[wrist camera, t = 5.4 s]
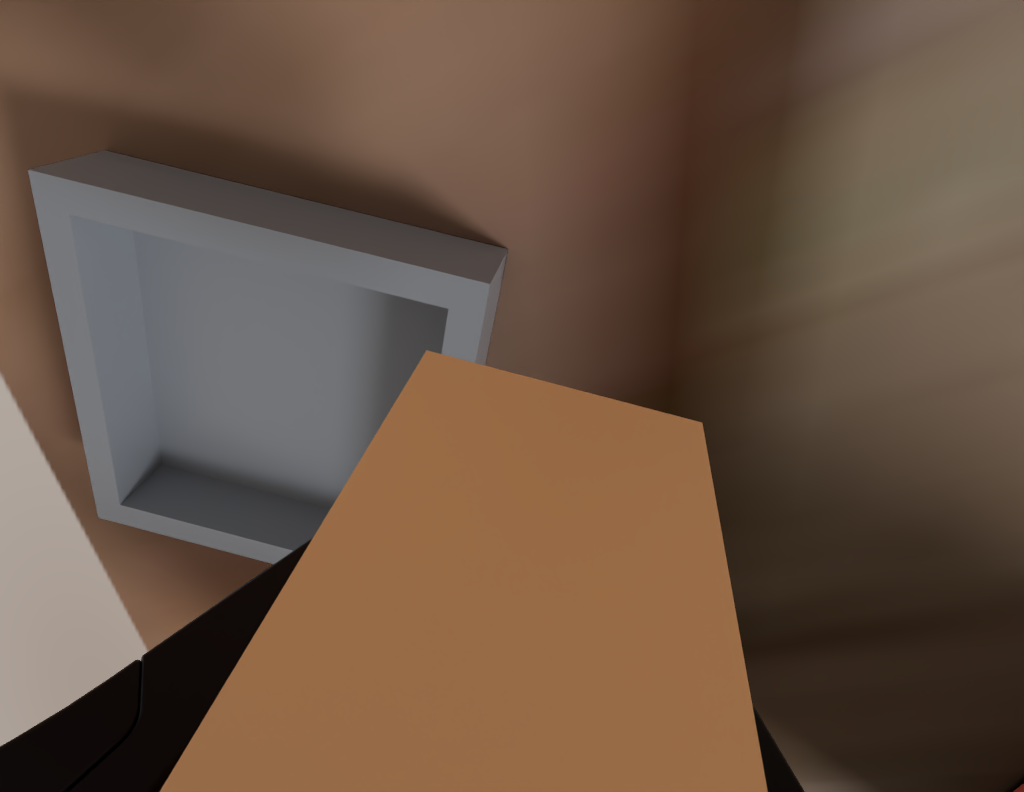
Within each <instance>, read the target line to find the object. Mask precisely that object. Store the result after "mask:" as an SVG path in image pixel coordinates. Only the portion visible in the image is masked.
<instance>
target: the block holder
mask: <svg viewBox="0 0 1024 792" xmlns="http://www.w3.org/2000/svg"><path fill="white" fill-rule="evenodd" d="M28 173H29V178H30V183H31V188H32V193H33V198H34V203H35V208H36V213H37V218H38V223H39V228H40V233H41V237H42V242H43V247H44V252H45V257H46V262H47V267H48V272H49V277H50V282H51V287H52V292H53V297H54V302H55V307H56V312H57V316H58V321H59V326H60V331H61V336H62V341H63V346H64V351H65V356H66V361H67V366H68V371H69V376H70V381H71V386H72V391H73V395H74V400H75V405H76V410H77V415H78V420H79V425H80V430H81V435H82V440H83V445H84V450H85V455H86V460H87V465H88V470H89V474H90V479H91V484H92V489H93V494H94V499H95V504H96V509H97V514H98V518H101V519H105V520H109V521H112V522H116V523H120V524H124V525H127V526H131V527H135V528H139V529H142V530H146V531H150V532H154V533H158V534H161V535H165V536H169V537H173V538H176V539H180V540H184V541H188V542H192V543H195V544H199V545H203V546H207V547H210V548H214V549H218V550H222V551H226V552H229V553H233V554H237V555H241V556H244V557H248V558H252V559H256V560H259V561H263V562H267V563H271V564H275V563H277V562H278V561H279V560H281V559H282V558H284V557H285V556H287V555H288V554H289V553H291V552H292V551H294V550H295V549H297V548H298V547H299V546H301V545H302V544H304V543H305V542H307V541H308V540H310V539H311V538H312V537H314V536H315V534H316V532H317V531H318V529H319V527H320V526H321V524H322V522H323V521H324V519H325V517H326V516H327V514H328V512H329V511H330V509H331V507H332V506H333V504H334V503H335V501H336V499H337V498H338V496H339V494H340V493H341V491H342V489H343V488H344V486H345V484H346V483H347V481H348V479H349V478H350V476H351V474H352V473H353V471H354V469H355V468H356V466H357V464H358V463H359V461H360V460H361V458H362V456H363V455H364V453H365V451H366V450H367V448H368V446H369V445H370V443H371V441H372V440H373V438H374V436H375V435H376V433H377V431H378V430H379V428H380V426H381V425H382V423H383V421H384V420H385V418H386V417H387V415H388V413H389V412H390V410H391V408H392V407H393V405H394V403H395V402H396V400H397V398H398V397H399V395H400V393H401V392H402V390H403V388H404V387H405V385H406V383H407V382H408V380H409V378H410V377H411V375H412V374H413V372H414V370H415V369H416V367H417V365H418V364H419V362H420V360H421V359H422V357H423V355H424V354H425V352H426V350H428V351H431V352H435V353H439V354H443V355H447V356H450V357H454V358H458V359H462V360H466V361H469V362H473V363H477V364H481V365H485V363H486V358H487V353H488V348H489V343H490V338H491V333H492V328H493V323H494V318H495V313H496V308H497V303H498V298H499V293H500V288H501V283H502V278H503V273H504V268H505V263H506V258H507V253H508V249H505V248H501V247H497V246H493V245H489V244H485V243H481V242H477V241H472V240H468V239H464V238H460V237H456V236H452V235H448V234H444V233H440V232H436V231H432V230H428V229H424V228H420V227H415V226H411V225H407V224H403V223H399V222H395V221H391V220H387V219H383V218H379V217H375V216H371V215H367V214H362V213H358V212H354V211H350V210H346V209H342V208H338V207H334V206H330V205H326V204H322V203H318V202H314V201H310V200H305V199H301V198H297V197H293V196H289V195H285V194H281V193H277V192H273V191H269V190H265V189H261V188H257V187H252V186H248V185H244V184H240V183H236V182H232V181H228V180H224V179H220V178H216V177H212V176H208V175H204V174H200V173H195V172H191V171H187V170H183V169H179V168H175V167H171V166H167V165H163V164H159V163H155V162H151V161H147V160H142V159H138V158H134V157H130V156H126V155H122V154H118V153H114V152H110V151H106V150H103V151H99V152H95V153H92V154H88V155H84V156H80V157H76V158H72V159H68V160H64V161H60V162H56V163H52V164H48V165H44V166H40V167H36V168H32V169H28Z"/></svg>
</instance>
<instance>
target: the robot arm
mask: <svg viewBox="0 0 1024 792" xmlns="http://www.w3.org/2000/svg"><path fill="white" fill-rule="evenodd" d="M312 539H313V537H312V538H311V539H310V540H308V541H307V542H305V543H304V544H302V545H301V546H299V547H298V548H297V549H295V550H294V551H292V552H291V553H289V554H288V555H287V556H285V557H284V558H282V559H281V560H279V561H278V562H277V563H275V564H274V565H272V566H271V567H269V568H268V569H266V570H265V571H264V572H262V573H261V574H259V575H258V576H256V577H255V578H254V579H252V580H251V581H249V582H248V583H246V584H245V585H243V586H242V587H241V588H239V589H238V590H236V591H235V592H233V593H232V594H231V595H229V596H228V597H226V598H225V599H223V600H222V601H220V602H219V603H218V604H216V605H215V606H213V607H212V608H210V609H209V610H208V611H206V612H205V613H203V614H202V615H200V616H199V617H197V618H196V619H195V620H193V621H192V622H190V623H189V624H187V625H186V626H185V627H183V628H182V629H180V630H179V631H177V632H176V633H174V634H173V635H172V636H170V637H169V638H167V639H166V640H164V641H163V642H162V643H160V644H159V645H157V646H156V647H154V648H153V649H151V650H150V651H149V652H147V653H146V654H144V655H143V656H142V659H141V661H140V660H135V661H134V662H132V663H131V664H129V665H128V666H127V667H125V668H124V669H122V670H121V671H119V672H118V673H117V674H115V675H114V676H112V677H111V678H109V679H108V680H106V681H105V682H104V683H102V684H100V685H99V686H97V687H96V688H94V689H93V690H91V691H90V692H88V693H87V694H85V695H84V696H82V697H81V698H79V699H78V700H76V701H75V702H73V703H72V704H70V705H69V706H67V707H66V708H64V709H62V710H61V711H59V712H57V713H56V714H54V715H52V716H51V717H49V718H47V719H46V720H44V721H43V722H41V723H39V724H37V725H36V726H34V727H33V728H31V729H29V730H28V731H26V732H24V733H23V734H21V735H19V736H18V737H16V738H14V739H13V740H11V741H9V742H7V743H6V744H4V745H2V746H1V747H0V792H160V790H161V789H162V787H163V785H164V784H165V782H166V780H167V779H168V777H169V775H170V774H171V772H172V770H173V769H174V767H175V765H176V764H177V762H178V761H179V759H180V757H181V756H182V754H183V752H184V751H185V749H186V747H187V746H188V744H189V742H190V741H191V739H192V737H193V736H194V734H195V732H196V731H197V729H198V727H199V726H200V724H201V722H202V721H203V719H204V718H205V716H206V714H207V713H208V711H209V709H210V708H211V706H212V704H213V703H214V701H215V699H216V698H217V696H218V694H219V693H220V691H221V689H222V688H223V686H224V684H225V683H226V681H227V679H228V678H229V676H230V675H231V673H232V671H233V670H234V668H235V666H236V665H237V663H238V661H239V660H240V658H241V656H242V655H243V653H244V651H245V650H246V648H247V646H248V645H249V643H250V641H251V640H252V638H253V636H254V635H255V633H256V632H257V630H258V628H259V627H260V625H261V623H262V622H263V620H264V618H265V617H266V615H267V613H268V612H269V610H270V608H271V607H272V605H273V603H274V602H275V600H276V598H277V597H278V595H279V593H280V592H281V590H282V589H283V587H284V585H285V584H286V582H287V580H288V579H289V577H290V575H291V574H292V572H293V570H294V569H295V567H296V565H297V564H298V562H299V560H300V559H301V557H302V555H303V554H304V552H305V550H306V549H307V547H308V546H309V544H310V542H311V541H312ZM752 706H753V704H752ZM753 712H754V717H755V723H756V728H757V734H758V740H759V745H760V751H761V757H762V762H763V768H764V774H765V779H766V785H767V791H768V792H804V790H803V788H802V787H801V785H800V783H799V782H798V780H797V778H796V776H795V775H794V773H793V771H792V770H791V768H790V766H789V765H788V763H787V761H786V760H785V758H784V756H783V755H782V753H781V751H780V749H779V748H778V746H777V744H776V743H775V741H774V739H773V738H772V736H771V734H770V733H769V731H768V729H767V728H766V726H765V724H764V722H763V721H762V719H761V717H760V716H759V714H758V712H757V711H756V709H755V707H754V706H753Z"/></svg>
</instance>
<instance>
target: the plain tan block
mask: <svg viewBox="0 0 1024 792" xmlns="http://www.w3.org/2000/svg"><path fill="white" fill-rule="evenodd" d="M160 792H768V791H767V785H766V779H765V774H764V768H763V762H762V757H761V751H760V745H759V740H758V734H757V728H756V723H755V717H754V712H753V706H752V700H751V695H750V689H749V683H748V678H747V672H746V666H745V661H744V655H743V650H742V644H741V638H740V633H739V627H738V621H737V616H736V610H735V604H734V599H733V593H732V588H731V582H730V576H729V571H728V565H727V559H726V554H725V548H724V542H723V537H722V531H721V526H720V520H719V514H718V509H717V503H716V497H715V492H714V486H713V480H712V475H711V469H710V464H709V458H708V452H707V447H706V441H705V435H704V430H703V424H702V422H698V421H694V420H690V419H686V418H683V417H679V416H675V415H671V414H667V413H664V412H660V411H656V410H652V409H648V408H645V407H641V406H637V405H633V404H629V403H626V402H622V401H618V400H614V399H610V398H606V397H603V396H599V395H595V394H591V393H587V392H584V391H580V390H576V389H572V388H568V387H565V386H561V385H557V384H553V383H549V382H546V381H542V380H538V379H534V378H530V377H527V376H523V375H519V374H515V373H511V372H508V371H504V370H500V369H496V368H492V367H488V366H485V365H481V364H477V363H473V362H469V361H466V360H462V359H458V358H454V357H450V356H447V355H443V354H439V353H435V352H431V351H428V350H426V352H425V354H424V355H423V357H422V359H421V360H420V362H419V364H418V365H417V367H416V369H415V370H414V372H413V374H412V375H411V377H410V378H409V380H408V382H407V383H406V385H405V387H404V388H403V390H402V392H401V393H400V395H399V397H398V398H397V400H396V402H395V403H394V405H393V407H392V408H391V410H390V412H389V413H388V415H387V417H386V418H385V420H384V421H383V423H382V425H381V426H380V428H379V430H378V431H377V433H376V435H375V436H374V438H373V440H372V441H371V443H370V445H369V446H368V448H367V450H366V451H365V453H364V455H363V456H362V458H361V460H360V461H359V463H358V464H357V466H356V468H355V469H354V471H353V473H352V474H351V476H350V478H349V479H348V481H347V483H346V484H345V486H344V488H343V489H342V491H341V493H340V494H339V496H338V498H337V499H336V501H335V503H334V504H333V506H332V507H331V509H330V511H329V512H328V514H327V516H326V517H325V519H324V521H323V522H322V524H321V526H320V527H319V529H318V531H317V532H316V534H315V536H314V537H313V539H312V541H311V542H310V544H309V546H308V547H307V549H306V550H305V552H304V554H303V555H302V557H301V559H300V560H299V562H298V564H297V565H296V567H295V569H294V570H293V572H292V574H291V575H290V577H289V579H288V580H287V582H286V584H285V585H284V587H283V589H282V590H281V592H280V593H279V595H278V597H277V598H276V600H275V602H274V603H273V605H272V607H271V608H270V610H269V612H268V613H267V615H266V617H265V618H264V620H263V622H262V623H261V625H260V627H259V628H258V630H257V632H256V633H255V635H254V636H253V638H252V640H251V641H250V643H249V645H248V646H247V648H246V650H245V651H244V653H243V655H242V656H241V658H240V660H239V661H238V663H237V665H236V666H235V668H234V670H233V671H232V673H231V675H230V676H229V678H228V679H227V681H226V683H225V684H224V686H223V688H222V689H221V691H220V693H219V694H218V696H217V698H216V699H215V701H214V703H213V704H212V706H211V708H210V709H209V711H208V713H207V714H206V716H205V718H204V719H203V721H202V722H201V724H200V726H199V727H198V729H197V731H196V732H195V734H194V736H193V737H192V739H191V741H190V742H189V744H188V746H187V747H186V749H185V751H184V752H183V754H182V756H181V757H180V759H179V761H178V762H177V764H176V765H175V767H174V769H173V770H172V772H171V774H170V775H169V777H168V779H167V780H166V782H165V784H164V785H163V787H162V789H161V790H160Z"/></svg>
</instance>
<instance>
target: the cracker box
mask: <svg viewBox="0 0 1024 792" xmlns="http://www.w3.org/2000/svg"><path fill="white" fill-rule="evenodd" d="M1013 792H1024V783H1023V784H1022V785H1021V786H1019V787H1018V788H1017V789H1016V790H1014V791H1013Z"/></svg>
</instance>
